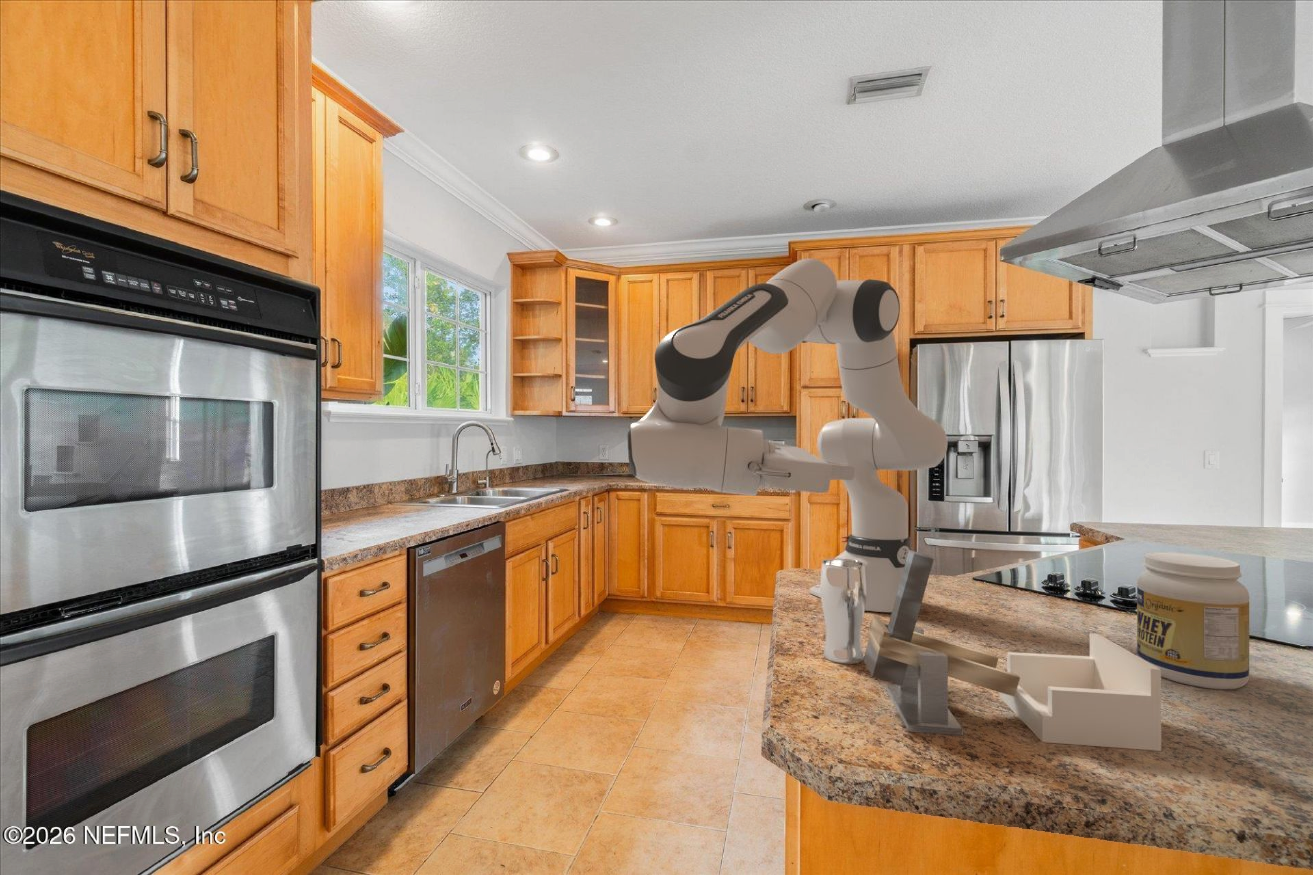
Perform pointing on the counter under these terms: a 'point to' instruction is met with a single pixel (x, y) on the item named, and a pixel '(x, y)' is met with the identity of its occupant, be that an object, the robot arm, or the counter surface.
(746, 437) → the robot arm
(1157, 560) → the supplement tub
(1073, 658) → the cream open-top tray
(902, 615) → the lever
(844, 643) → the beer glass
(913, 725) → the fulcrum
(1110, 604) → the counter surface
